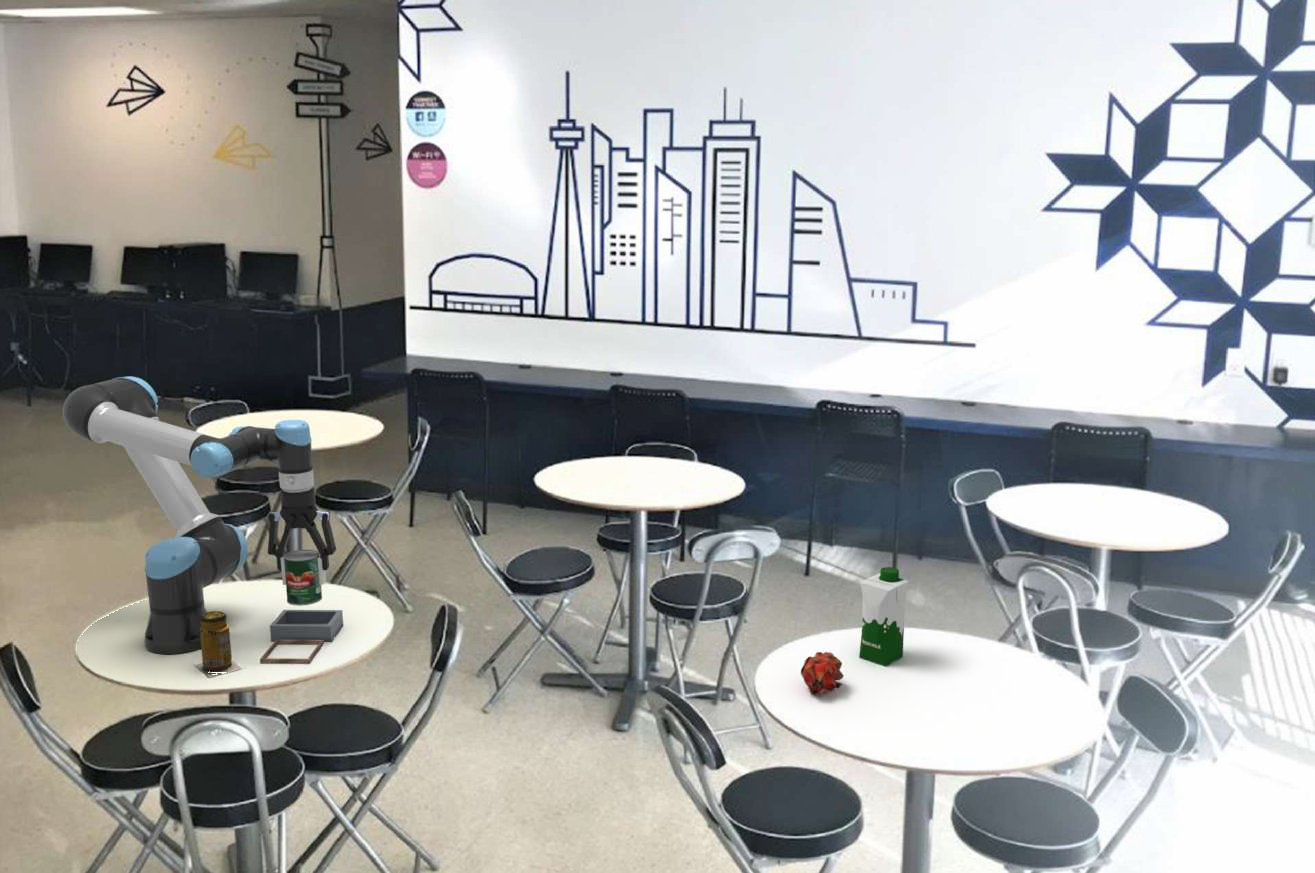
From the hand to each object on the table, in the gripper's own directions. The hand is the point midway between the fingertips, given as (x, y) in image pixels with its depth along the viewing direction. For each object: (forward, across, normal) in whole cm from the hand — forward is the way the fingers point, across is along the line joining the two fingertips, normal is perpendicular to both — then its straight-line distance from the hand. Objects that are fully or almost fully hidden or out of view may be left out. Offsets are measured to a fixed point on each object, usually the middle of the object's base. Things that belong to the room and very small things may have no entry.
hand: (304, 582), depth 284 cm
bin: (+13, 0, 0) cm, 13 cm away
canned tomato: (+4, 0, -1) cm, 4 cm away
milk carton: (+14, +132, -11) cm, 133 cm away
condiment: (+13, -14, -19) cm, 27 cm away
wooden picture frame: (+13, 0, -11) cm, 17 cm away
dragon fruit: (+14, +117, -28) cm, 121 cm away
